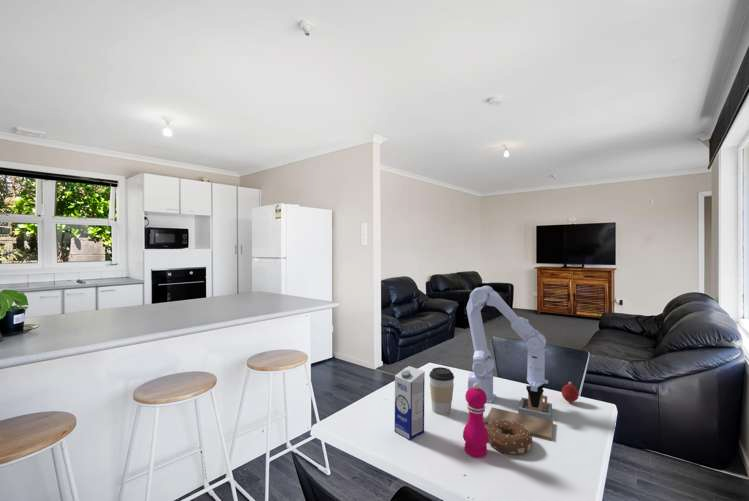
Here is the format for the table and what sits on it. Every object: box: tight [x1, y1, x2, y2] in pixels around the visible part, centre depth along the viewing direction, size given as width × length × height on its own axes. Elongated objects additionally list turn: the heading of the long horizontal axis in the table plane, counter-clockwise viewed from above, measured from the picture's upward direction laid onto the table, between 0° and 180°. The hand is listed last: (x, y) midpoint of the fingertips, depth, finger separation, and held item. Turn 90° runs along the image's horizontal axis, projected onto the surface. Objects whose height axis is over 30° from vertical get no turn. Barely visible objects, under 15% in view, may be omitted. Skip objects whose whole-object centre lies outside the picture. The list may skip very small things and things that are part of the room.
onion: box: [561, 381, 580, 404], centre depth 134 cm, size 6×6×8 cm
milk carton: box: [394, 365, 426, 441], centre depth 112 cm, size 7×7×20 cm
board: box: [484, 406, 554, 442], centre depth 118 cm, size 20×12×1 cm, turn 61°
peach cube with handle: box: [527, 392, 548, 412], centre depth 127 cm, size 6×5×7 cm
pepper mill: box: [462, 383, 489, 459], centre depth 101 cm, size 7×7×20 cm
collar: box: [517, 397, 553, 421], centre depth 127 cm, size 10×10×2 cm
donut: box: [485, 420, 533, 455], centre depth 105 cm, size 14×14×5 cm
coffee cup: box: [428, 366, 455, 416], centre depth 127 cm, size 9×9×15 cm
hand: (535, 404), depth 127 cm, fingers closed on peach cube with handle, 5 cm apart
